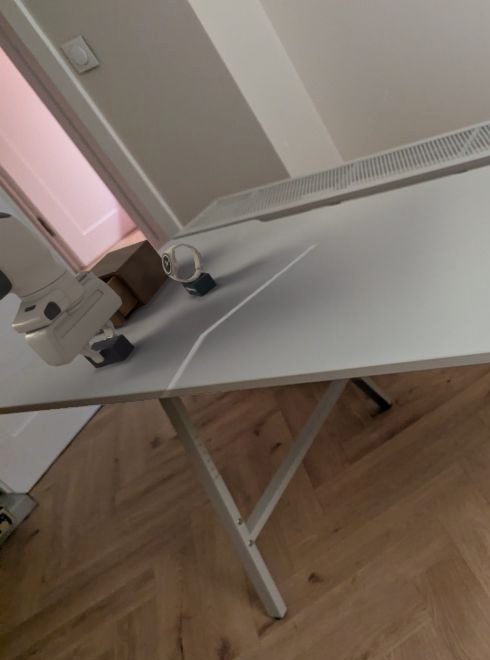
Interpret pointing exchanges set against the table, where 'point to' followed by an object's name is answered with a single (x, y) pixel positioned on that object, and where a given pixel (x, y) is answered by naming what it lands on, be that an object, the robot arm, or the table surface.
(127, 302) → the drawer
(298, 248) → the table surface
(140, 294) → the cabinet
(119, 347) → the black block
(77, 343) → the robot arm
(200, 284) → the watch
